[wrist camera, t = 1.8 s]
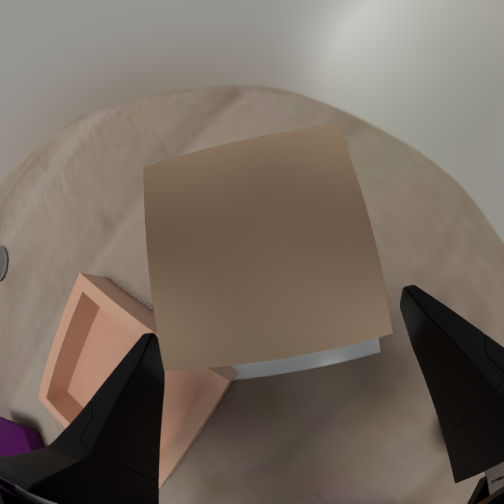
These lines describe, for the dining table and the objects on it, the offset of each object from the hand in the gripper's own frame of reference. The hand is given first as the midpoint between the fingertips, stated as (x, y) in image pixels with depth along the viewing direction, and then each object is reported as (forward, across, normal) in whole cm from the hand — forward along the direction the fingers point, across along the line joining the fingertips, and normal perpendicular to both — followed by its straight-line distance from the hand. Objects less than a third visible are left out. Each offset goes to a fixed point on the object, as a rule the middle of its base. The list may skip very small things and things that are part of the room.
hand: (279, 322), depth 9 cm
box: (+4, +13, +10) cm, 17 cm away
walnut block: (+8, 0, +5) cm, 9 cm away
